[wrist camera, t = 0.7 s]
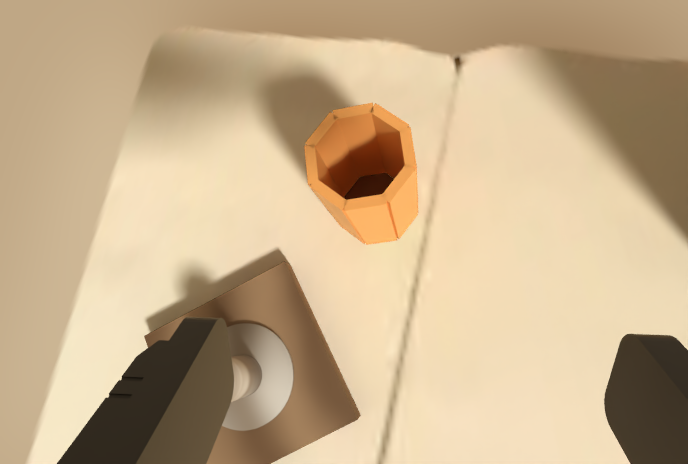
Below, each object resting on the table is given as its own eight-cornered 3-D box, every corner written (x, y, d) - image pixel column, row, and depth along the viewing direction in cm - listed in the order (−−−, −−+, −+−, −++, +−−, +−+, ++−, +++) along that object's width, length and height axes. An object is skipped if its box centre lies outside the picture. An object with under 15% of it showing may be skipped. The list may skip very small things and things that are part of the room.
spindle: (290, 264, 35) (250, 244, 27) (360, 415, 32) (339, 444, 24) (155, 335, 35) (76, 337, 27) (211, 490, 32) (140, 544, 24)
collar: (410, 161, 35) (405, 96, 25) (421, 236, 34) (421, 198, 24) (333, 173, 36) (301, 116, 26) (342, 248, 34) (311, 216, 25)
